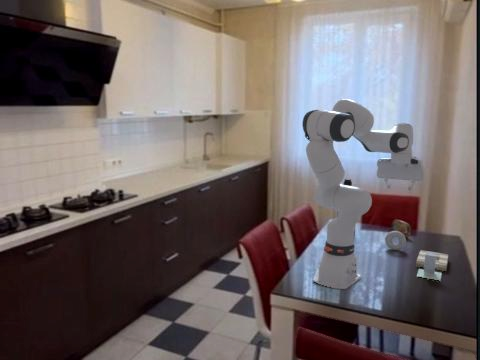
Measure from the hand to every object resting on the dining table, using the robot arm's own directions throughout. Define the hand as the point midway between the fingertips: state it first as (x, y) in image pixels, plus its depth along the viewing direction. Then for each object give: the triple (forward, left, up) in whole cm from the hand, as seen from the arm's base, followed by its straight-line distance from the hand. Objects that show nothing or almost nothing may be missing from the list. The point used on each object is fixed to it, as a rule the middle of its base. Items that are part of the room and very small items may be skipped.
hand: (399, 189), depth 179 cm
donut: (+15, +2, -34) cm, 37 cm away
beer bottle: (+25, +30, -34) cm, 52 cm away
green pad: (-12, -16, -34) cm, 39 cm away
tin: (+43, +3, -34) cm, 55 cm away
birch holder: (+4, -16, -34) cm, 38 cm away
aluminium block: (-12, -16, -34) cm, 39 cm away
